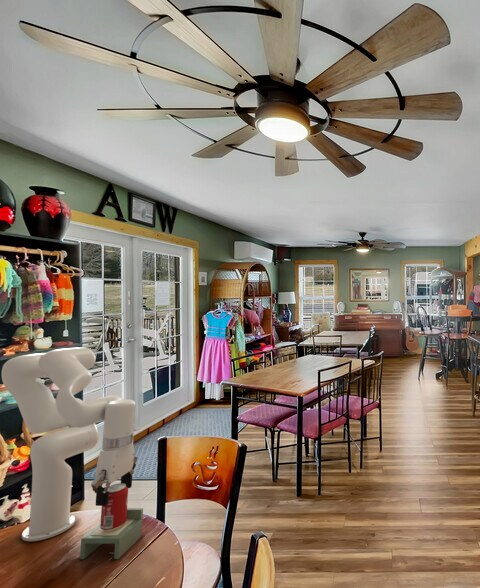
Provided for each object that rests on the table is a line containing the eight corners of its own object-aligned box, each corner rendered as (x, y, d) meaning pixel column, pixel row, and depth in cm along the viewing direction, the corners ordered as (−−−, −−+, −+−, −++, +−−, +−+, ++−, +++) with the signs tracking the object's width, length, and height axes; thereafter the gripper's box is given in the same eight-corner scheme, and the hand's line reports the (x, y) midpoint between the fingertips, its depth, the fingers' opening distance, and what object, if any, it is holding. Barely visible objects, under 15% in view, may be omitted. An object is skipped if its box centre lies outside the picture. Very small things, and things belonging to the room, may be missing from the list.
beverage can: (131, 521, 109) (133, 483, 109) (113, 534, 102) (115, 493, 103) (113, 519, 109) (115, 481, 110) (94, 532, 103) (96, 491, 103)
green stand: (79, 559, 100) (81, 528, 101) (106, 536, 110) (108, 508, 111) (118, 559, 101) (120, 528, 101) (141, 536, 111) (143, 508, 111)
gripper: (126, 430, 115) (122, 481, 115) (82, 452, 98) (77, 512, 97) (149, 430, 116) (145, 482, 115) (108, 452, 98) (104, 513, 98)
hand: (114, 496), depth 106 cm, fingers open, 9 cm apart
